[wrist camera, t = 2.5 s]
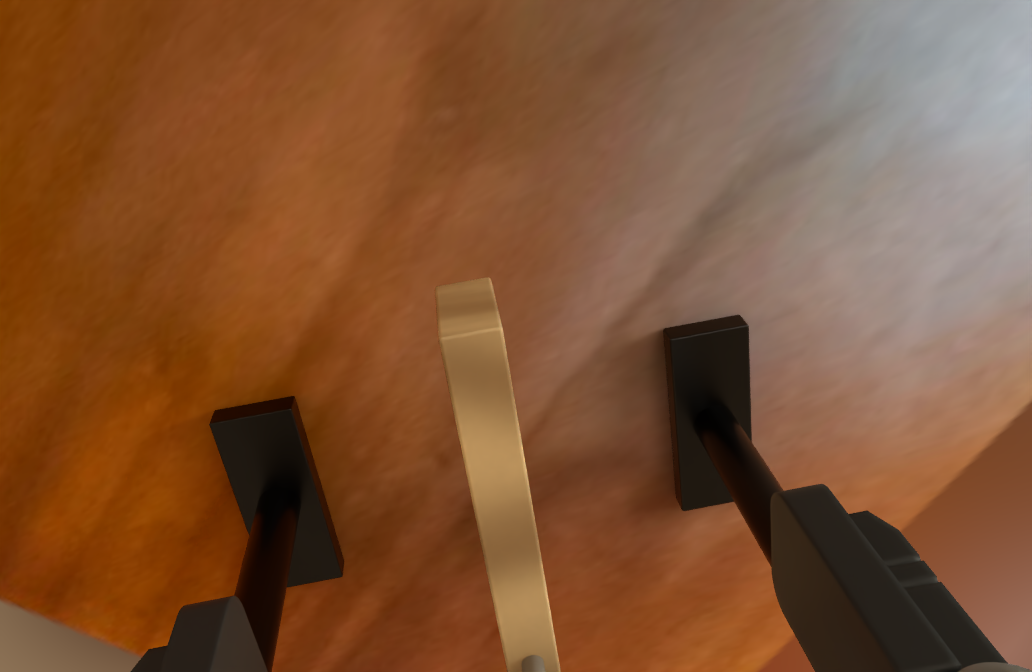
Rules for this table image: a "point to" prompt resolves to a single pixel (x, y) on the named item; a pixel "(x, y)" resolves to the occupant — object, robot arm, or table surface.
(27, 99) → the table surface
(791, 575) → the robot arm
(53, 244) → the table surface
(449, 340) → the hanger
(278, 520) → the rail stand
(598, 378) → the table surface
